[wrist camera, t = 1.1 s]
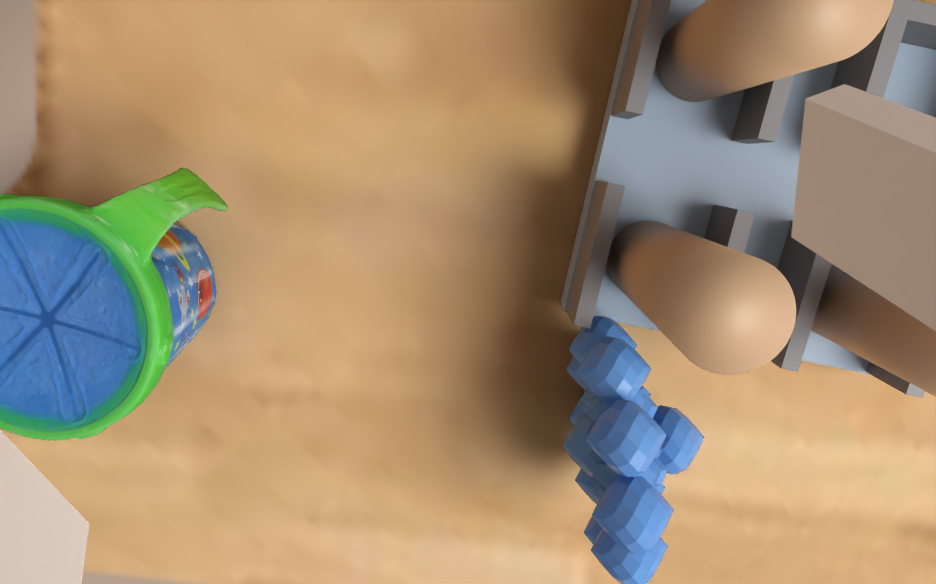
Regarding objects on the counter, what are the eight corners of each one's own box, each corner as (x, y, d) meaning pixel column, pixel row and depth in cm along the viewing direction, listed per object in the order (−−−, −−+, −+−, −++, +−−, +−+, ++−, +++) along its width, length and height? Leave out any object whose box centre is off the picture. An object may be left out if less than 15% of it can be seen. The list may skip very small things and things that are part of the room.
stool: (636, -21, 34) (743, -159, 19) (967, 48, 34) (1324, -39, 19) (560, 303, 37) (602, 394, 23) (861, 365, 37) (1100, 497, 23)
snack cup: (122, 431, 40) (-3, 522, 30) (-6, 294, 39) (-181, 340, 29) (319, 268, 38) (255, 306, 28) (190, 116, 36) (74, 98, 26)
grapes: (675, 491, 39) (752, 633, 27) (558, 498, 40) (585, 641, 28) (669, 295, 37) (750, 356, 25) (545, 304, 37) (568, 369, 26)
